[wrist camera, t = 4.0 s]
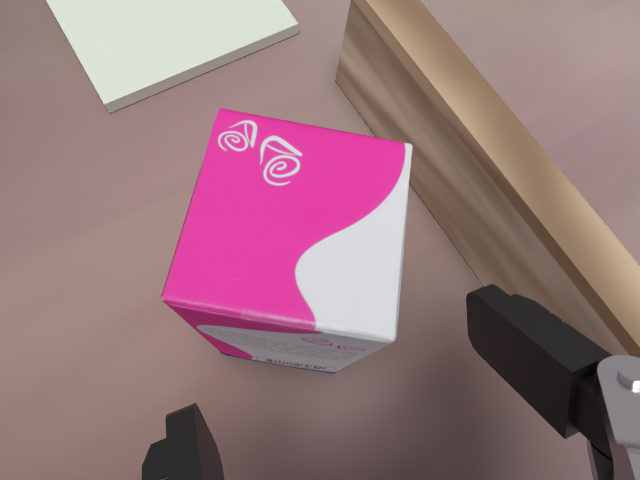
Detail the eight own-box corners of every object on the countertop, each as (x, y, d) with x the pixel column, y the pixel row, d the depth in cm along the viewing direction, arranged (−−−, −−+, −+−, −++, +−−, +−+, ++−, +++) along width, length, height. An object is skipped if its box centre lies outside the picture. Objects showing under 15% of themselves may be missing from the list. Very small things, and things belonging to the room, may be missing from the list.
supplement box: (353, 257, 23) (423, 140, 12) (336, 375, 21) (401, 359, 10) (242, 237, 23) (214, 98, 12) (215, 354, 21) (151, 314, 10)
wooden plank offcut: (548, 384, 22) (666, 381, 15) (331, 82, 26) (349, -21, 20) (579, 359, 22) (706, 346, 16) (361, 68, 27) (389, -37, 20)
